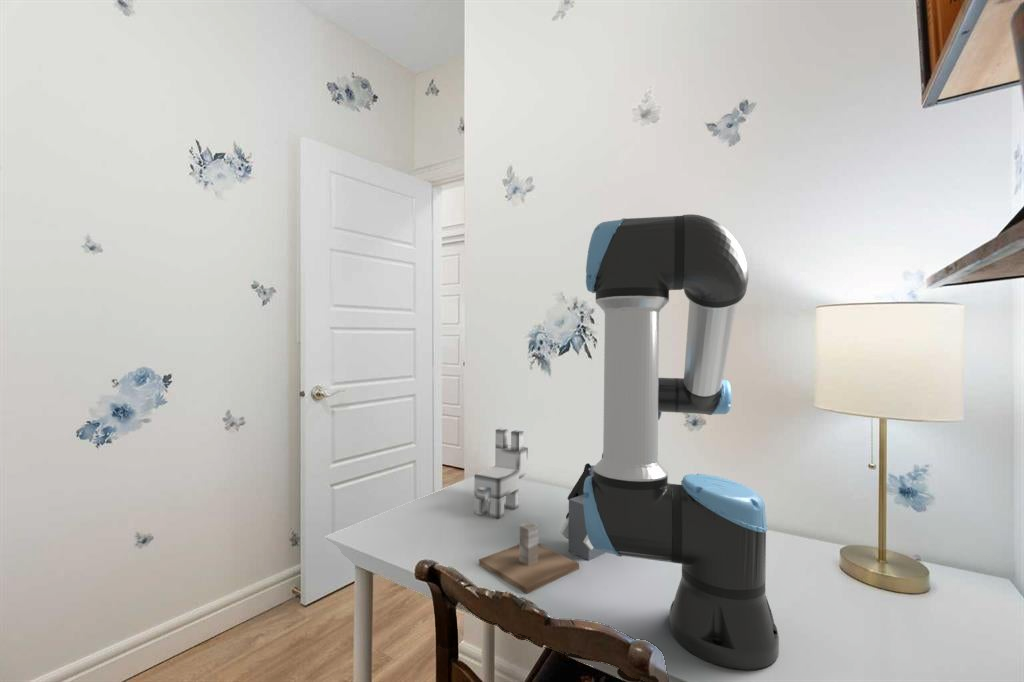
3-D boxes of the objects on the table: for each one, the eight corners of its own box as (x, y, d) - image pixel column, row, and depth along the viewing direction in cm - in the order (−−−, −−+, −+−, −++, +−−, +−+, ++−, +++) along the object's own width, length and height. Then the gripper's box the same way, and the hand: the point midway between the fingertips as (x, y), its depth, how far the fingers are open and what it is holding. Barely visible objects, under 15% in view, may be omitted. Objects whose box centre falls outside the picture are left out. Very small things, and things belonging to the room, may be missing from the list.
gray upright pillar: (605, 552, 98) (606, 500, 98) (588, 560, 94) (589, 506, 94) (585, 543, 102) (585, 493, 102) (568, 550, 98) (568, 499, 98)
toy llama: (468, 516, 117) (469, 437, 117) (504, 496, 132) (504, 426, 132) (493, 522, 113) (493, 441, 113) (527, 501, 128) (527, 429, 128)
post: (578, 568, 91) (579, 528, 91) (526, 593, 82) (526, 548, 82) (530, 544, 101) (530, 508, 101) (479, 564, 92) (479, 524, 92)
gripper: (666, 468, 101) (620, 566, 90) (598, 452, 115) (552, 535, 105) (653, 447, 98) (603, 547, 87) (585, 433, 112) (535, 517, 101)
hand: (575, 540), depth 96 cm, fingers open, 6 cm apart
